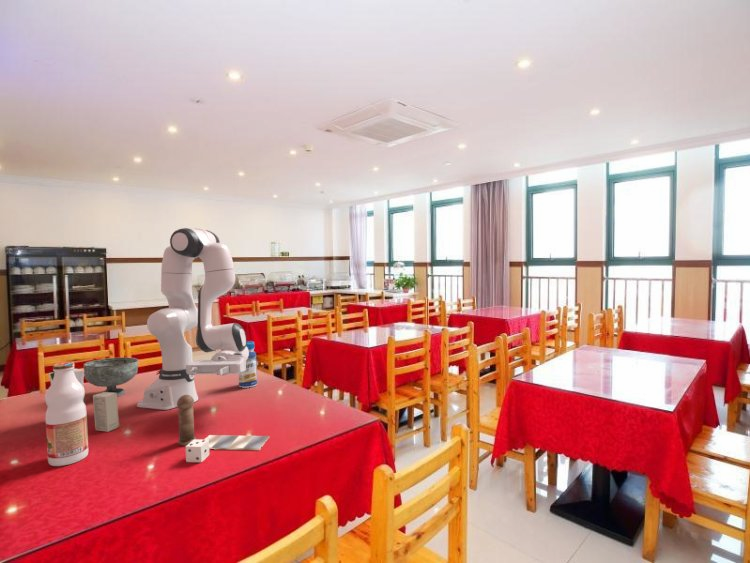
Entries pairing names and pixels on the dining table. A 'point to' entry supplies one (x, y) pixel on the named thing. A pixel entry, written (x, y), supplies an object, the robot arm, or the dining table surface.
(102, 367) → the bowl
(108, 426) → the skincare box
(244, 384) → the beverage bottle
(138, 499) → the dining table surface
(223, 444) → the board
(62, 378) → the fruit juice
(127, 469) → the dining table surface
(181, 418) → the pawn
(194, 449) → the die
